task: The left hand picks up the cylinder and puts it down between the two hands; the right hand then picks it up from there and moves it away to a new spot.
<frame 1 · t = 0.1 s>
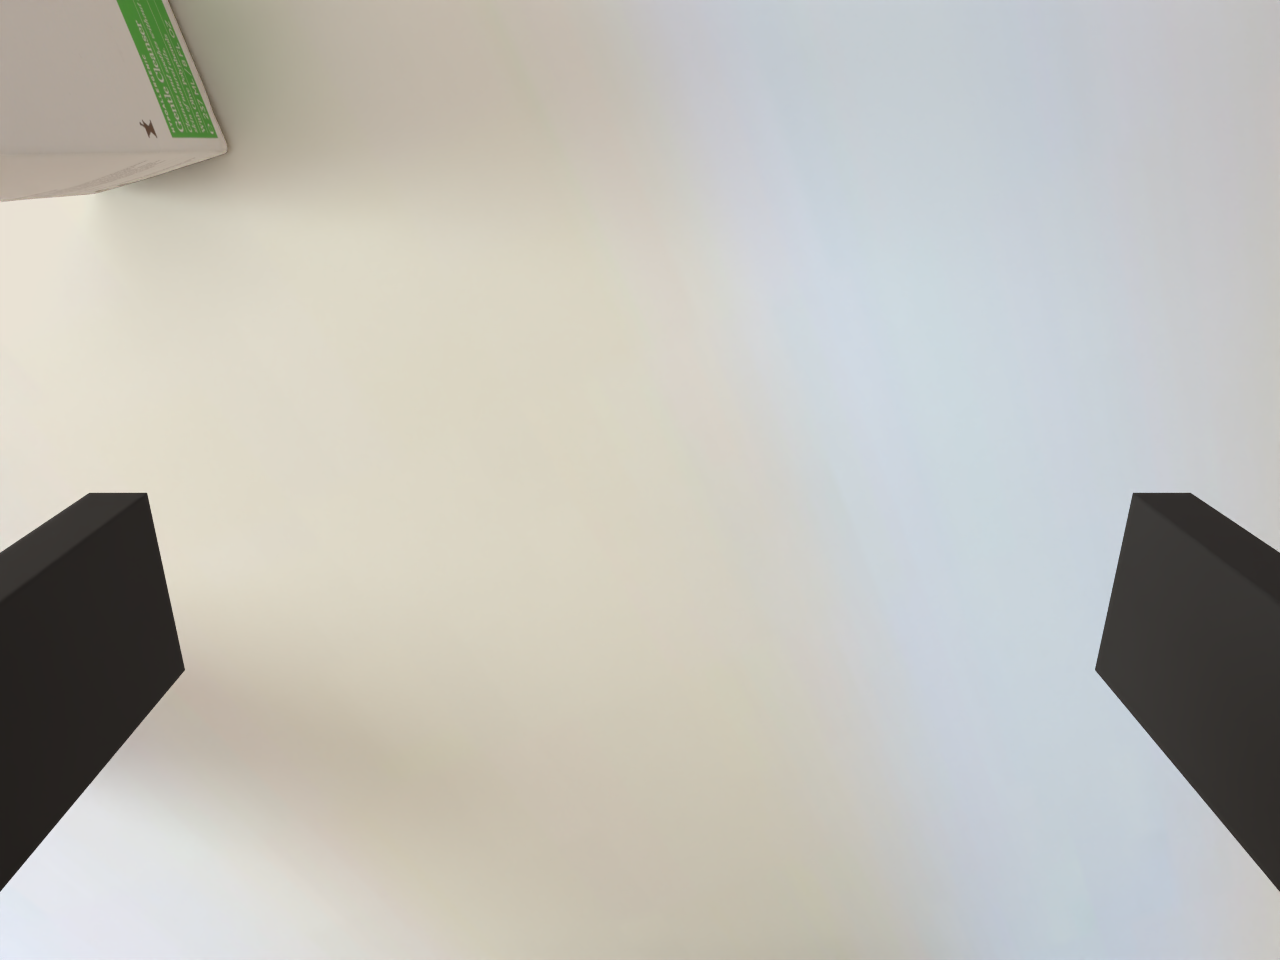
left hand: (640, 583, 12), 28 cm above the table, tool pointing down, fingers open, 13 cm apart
cosmetic box: (113, 67, 36), on the table
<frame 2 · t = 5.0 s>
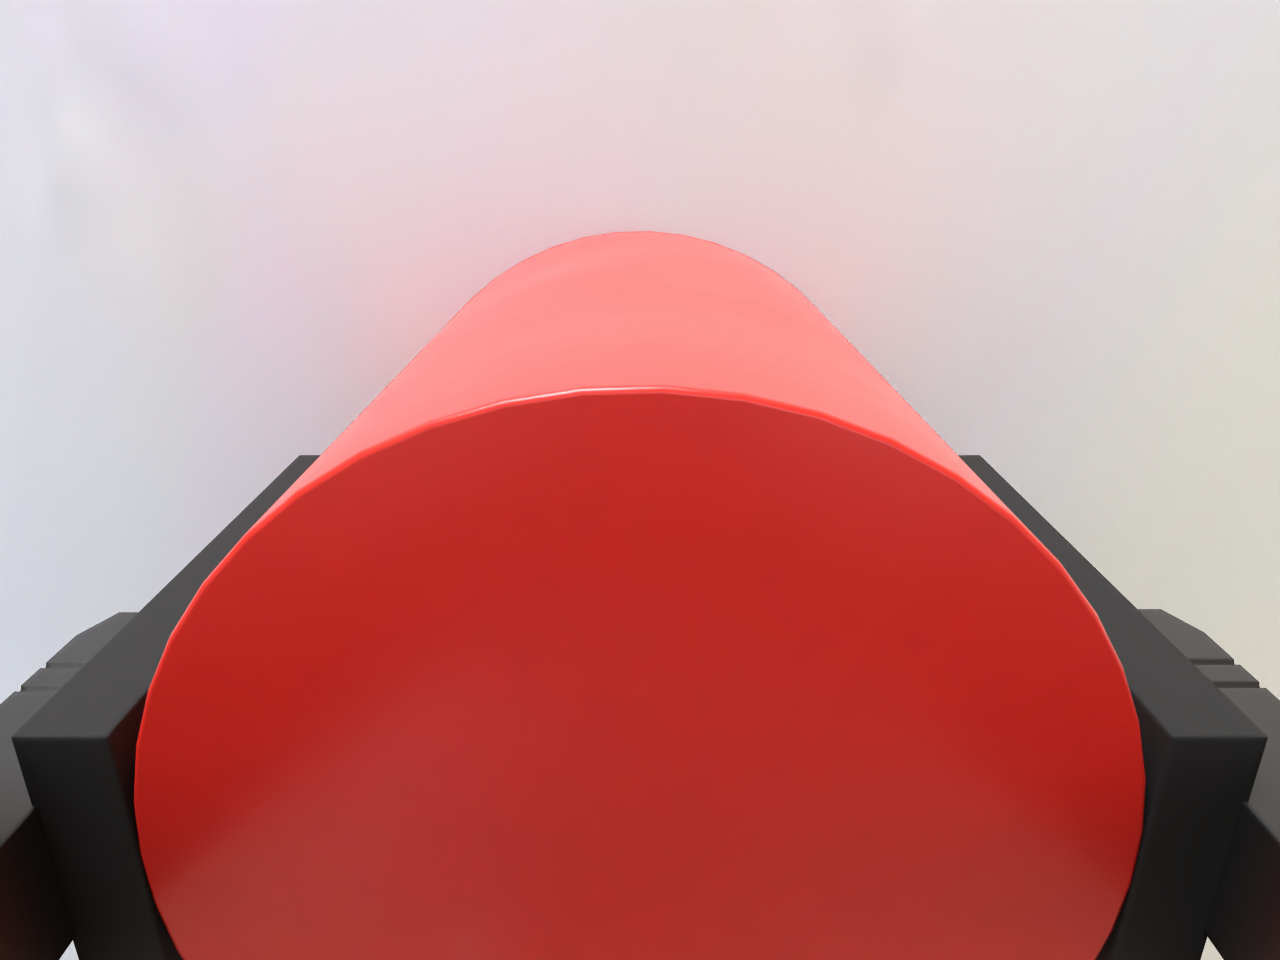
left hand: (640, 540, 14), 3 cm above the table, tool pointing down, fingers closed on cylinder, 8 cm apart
cylinder: (639, 469, 16), on the table, touching left hand
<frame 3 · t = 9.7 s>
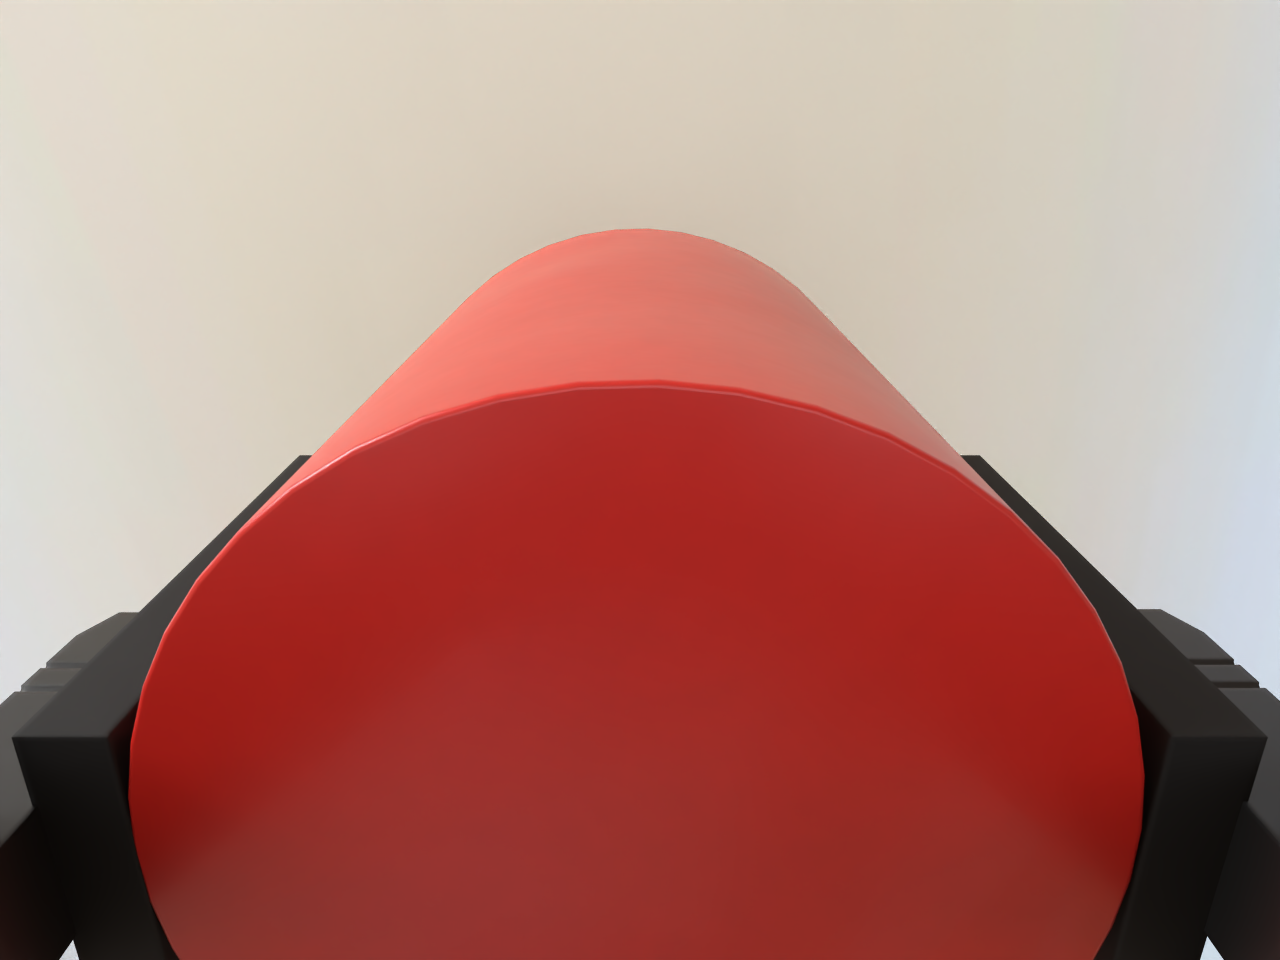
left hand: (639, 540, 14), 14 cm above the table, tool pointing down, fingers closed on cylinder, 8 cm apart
cylinder: (638, 467, 16), point 11 cm above the table, touching left hand
when the left hand's fingers open (5 cm above the table, at t = 14.9 s): cylinder drops 2 cm, on the table.
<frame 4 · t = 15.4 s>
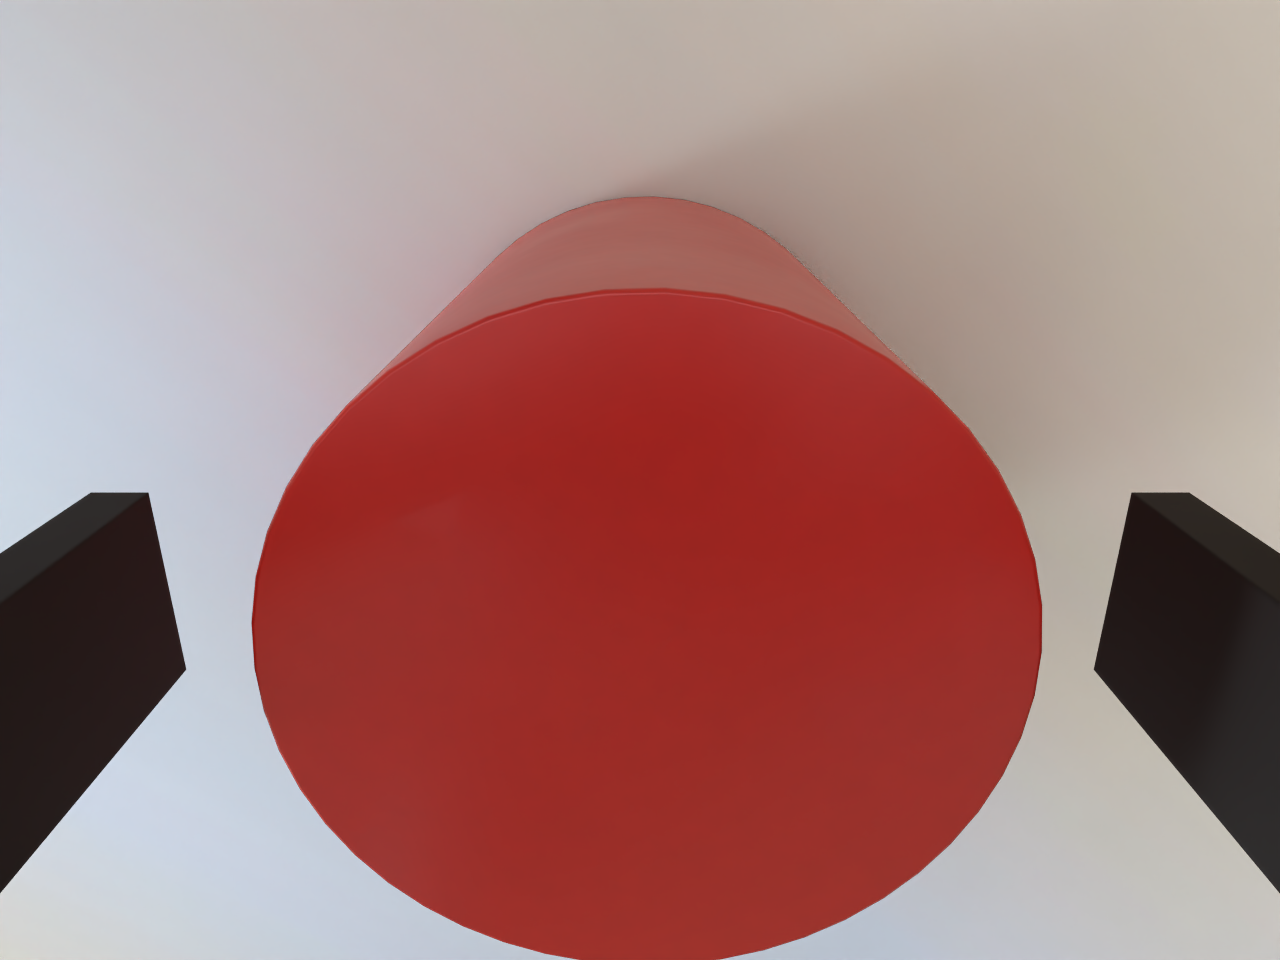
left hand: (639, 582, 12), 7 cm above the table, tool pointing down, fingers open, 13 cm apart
cylinder: (645, 410, 19), on the table
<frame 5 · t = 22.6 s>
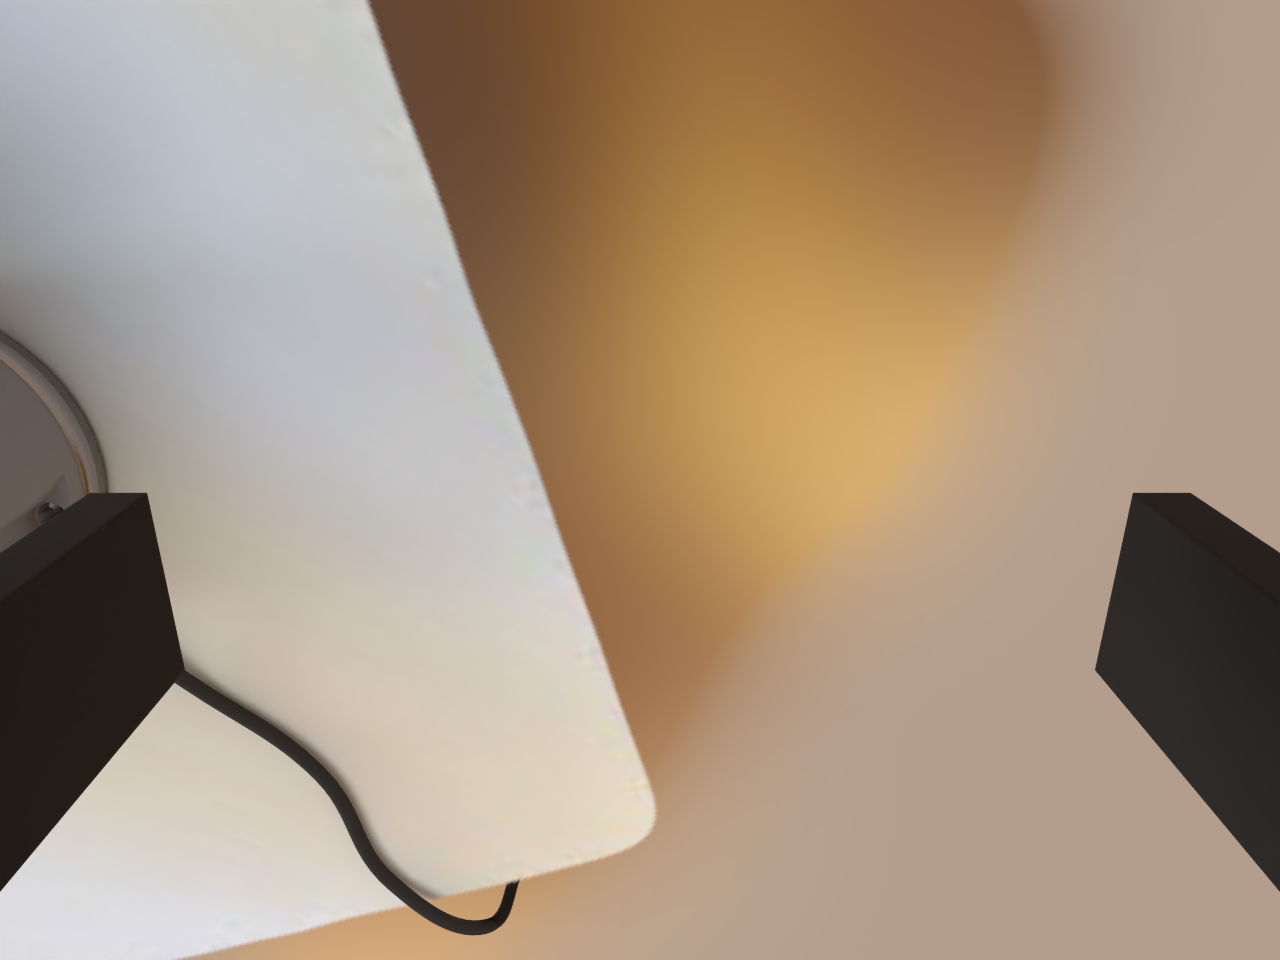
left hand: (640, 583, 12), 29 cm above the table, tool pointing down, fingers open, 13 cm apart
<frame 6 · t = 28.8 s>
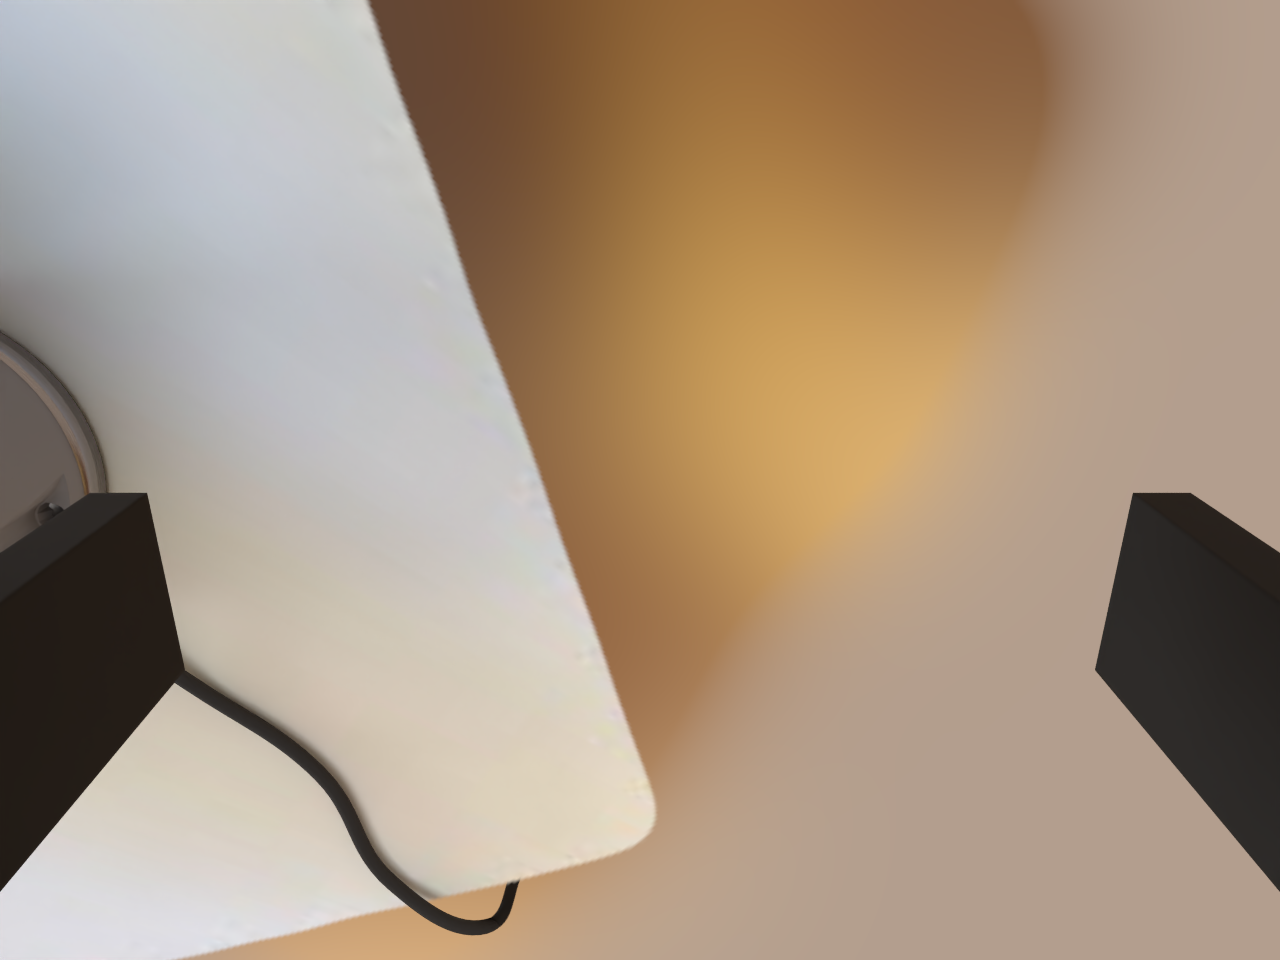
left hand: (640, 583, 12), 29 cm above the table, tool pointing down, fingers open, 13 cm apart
when the right hand's fingers open (5 cm above the table, at t = 35.3 s): cylinder drops 2 cm, on the table.
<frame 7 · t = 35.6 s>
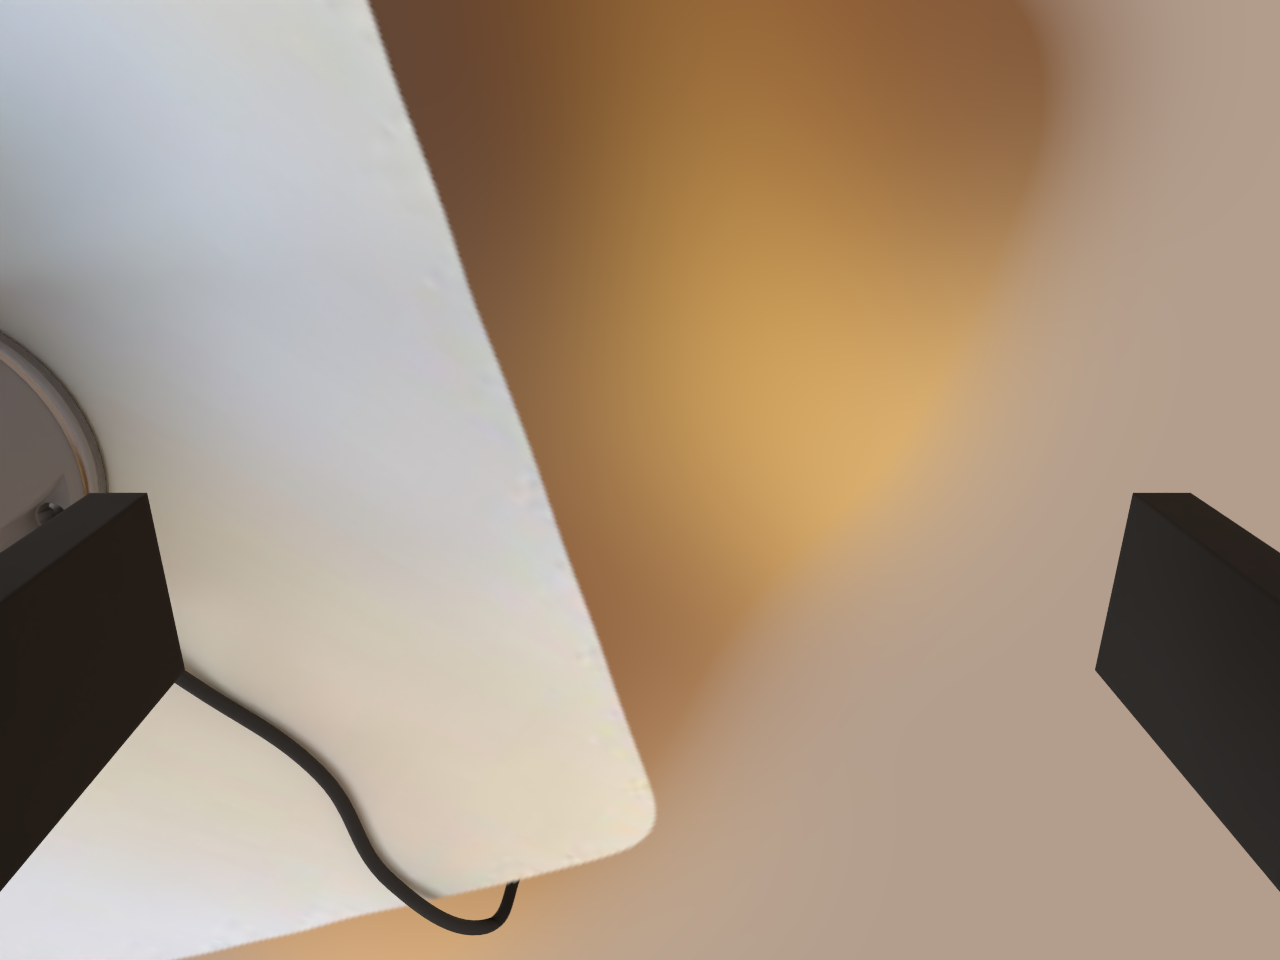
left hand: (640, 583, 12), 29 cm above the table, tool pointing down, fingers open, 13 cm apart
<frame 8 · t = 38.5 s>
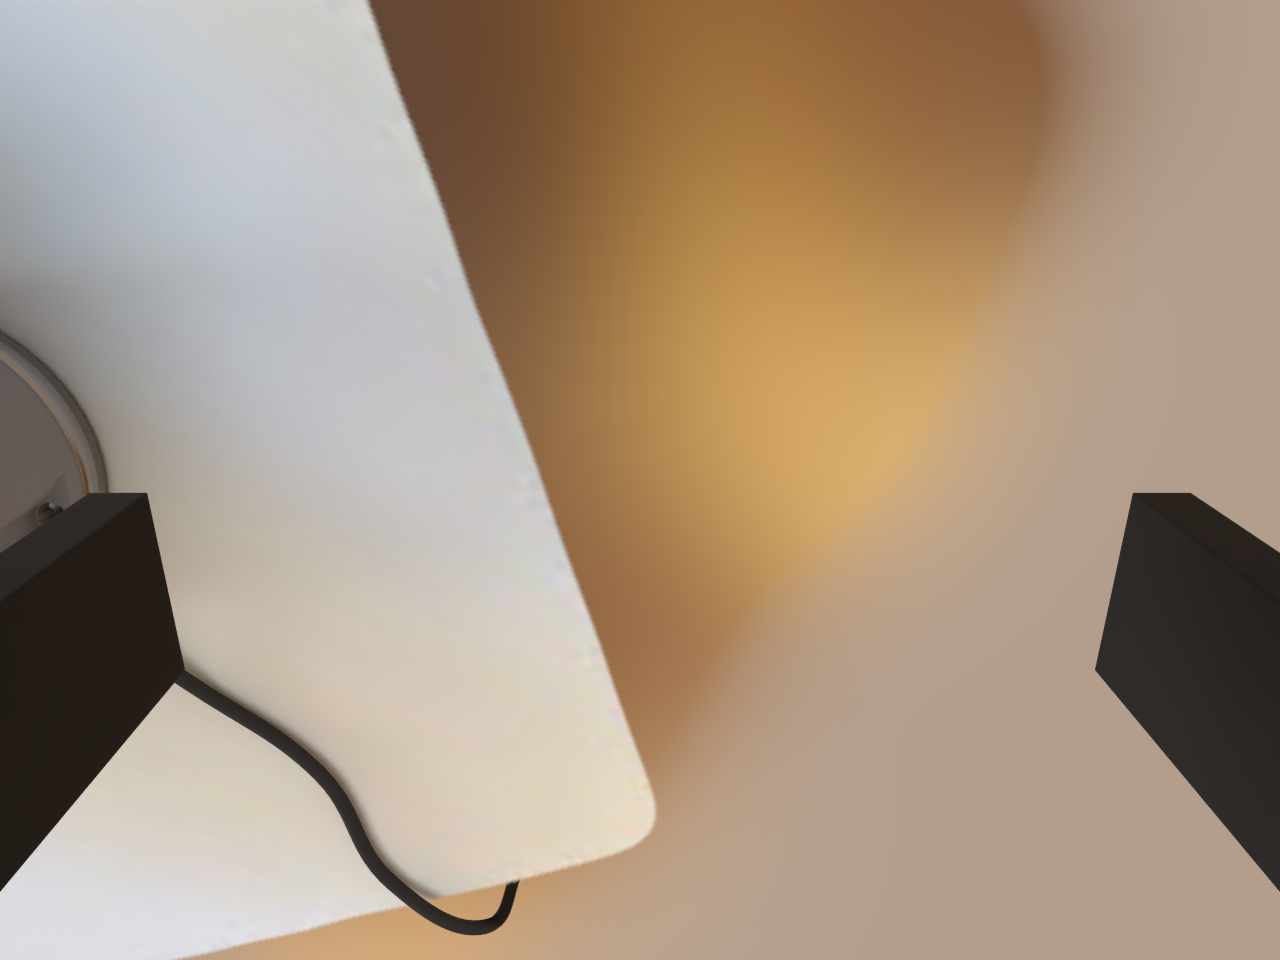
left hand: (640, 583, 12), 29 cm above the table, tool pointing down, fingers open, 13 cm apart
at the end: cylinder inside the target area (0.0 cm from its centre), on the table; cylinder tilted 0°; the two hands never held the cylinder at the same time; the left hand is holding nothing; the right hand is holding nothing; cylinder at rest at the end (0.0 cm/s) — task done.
